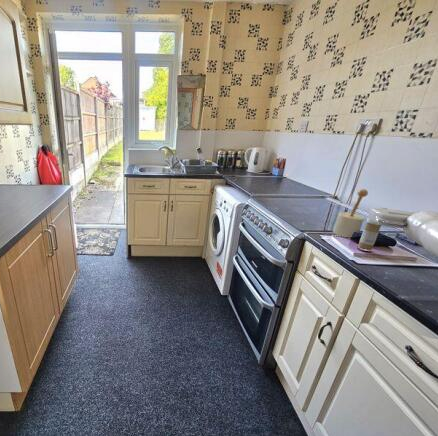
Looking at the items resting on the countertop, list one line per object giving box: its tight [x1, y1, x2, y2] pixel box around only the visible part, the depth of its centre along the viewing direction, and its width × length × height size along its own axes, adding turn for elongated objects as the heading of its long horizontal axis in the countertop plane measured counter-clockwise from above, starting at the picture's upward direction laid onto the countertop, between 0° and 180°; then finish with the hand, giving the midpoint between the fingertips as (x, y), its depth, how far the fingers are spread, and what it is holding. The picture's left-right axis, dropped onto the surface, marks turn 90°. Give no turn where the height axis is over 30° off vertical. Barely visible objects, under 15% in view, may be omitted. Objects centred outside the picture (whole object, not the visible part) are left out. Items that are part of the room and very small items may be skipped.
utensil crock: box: [332, 188, 369, 239], centre depth 106 cm, size 9×9×22 cm
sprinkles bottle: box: [357, 217, 382, 250], centre depth 94 cm, size 5×5×13 cm
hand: (400, 212), depth 79 cm, fingers open, 8 cm apart
